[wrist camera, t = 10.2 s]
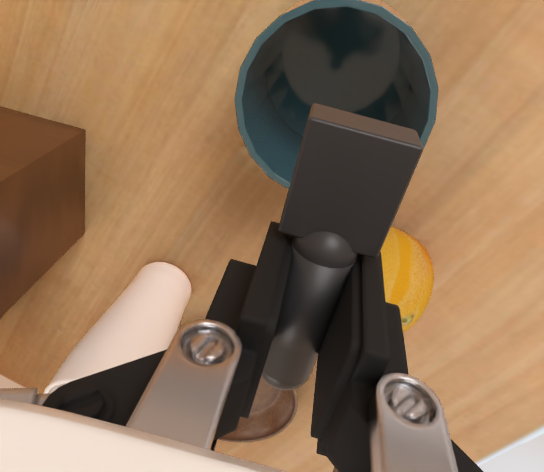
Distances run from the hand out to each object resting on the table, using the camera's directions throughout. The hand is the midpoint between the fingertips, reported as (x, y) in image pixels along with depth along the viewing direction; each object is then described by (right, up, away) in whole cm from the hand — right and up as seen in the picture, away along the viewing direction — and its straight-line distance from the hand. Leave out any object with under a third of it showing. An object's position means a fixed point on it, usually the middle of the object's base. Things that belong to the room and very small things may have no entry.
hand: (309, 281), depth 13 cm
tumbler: (+3, +12, +19) cm, 23 cm away
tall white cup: (-11, -3, +31) cm, 33 cm away
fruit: (+7, 0, +26) cm, 27 cm away
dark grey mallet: (0, +1, 0) cm, 1 cm away
